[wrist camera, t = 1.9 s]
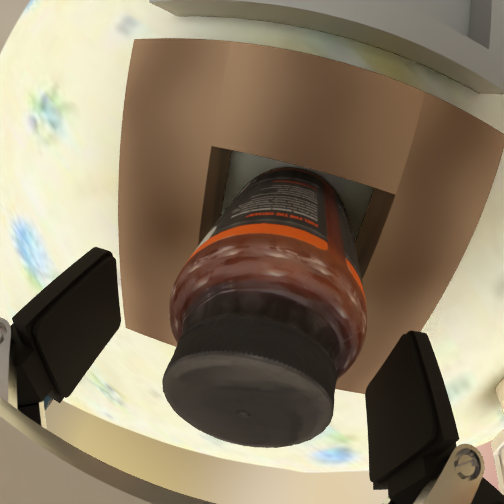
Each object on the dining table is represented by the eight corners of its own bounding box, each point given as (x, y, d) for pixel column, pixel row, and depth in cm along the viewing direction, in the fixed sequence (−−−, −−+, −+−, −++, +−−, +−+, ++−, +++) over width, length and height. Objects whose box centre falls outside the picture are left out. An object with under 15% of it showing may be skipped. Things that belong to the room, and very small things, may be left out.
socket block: (471, 127, 11) (506, 136, 8) (369, 355, 19) (373, 395, 16) (169, 49, 12) (134, 39, 9) (149, 296, 20) (125, 327, 17)
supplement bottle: (215, 193, 16) (76, 338, 6) (319, 146, 14) (329, 260, 4) (264, 282, 18) (207, 463, 8) (361, 249, 16) (395, 447, 6)
